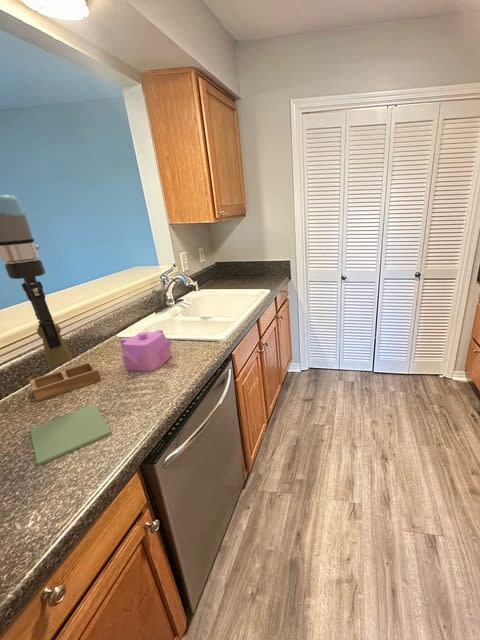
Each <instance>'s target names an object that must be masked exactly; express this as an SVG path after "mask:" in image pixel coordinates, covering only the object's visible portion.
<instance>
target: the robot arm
mask: <svg viewBox="0 0 480 640" xmlns="http://www.w3.org/2000/svg"><path fill="white" fill-rule="evenodd" d="M38 250H40V246H39V245H37V244H36V243H35V239H34V237H33V235H32V232H31V228H30V225H29V222H28V218H27V214H26V212H25V210H24V209H23V205H22V204H21V201H20V199H19V198H18V197H17V196H15V195H12V194H0V259H1V261H2V262H4V263H5V264H4V269H5V270H6V273H7V275H8V278H9V279H12V280H20V279H23V283H20V284H21V287H22V290H23V291H24V293H25V295H26V297H27V299H28V301H29V302H30V304H31V306H32V308H33V311H34V315H35V317H36V319H37V320H38V322H37V323H38V325H37V326H38V327H42V330H43V332H44V335H45V337H46V340H47V342H48V345H49V348H50V349H51V348H55V347H58V346H62V345H61V342H60V340H59V337H58V334H57V331H56V329H55V326H54V324H53V323H55V321H54V319H53V316H52V314H51V312H50V310H49V305H48V304H47V301H46V295H45V292H44V286H43V284H42V282H41V281H39V280H37V278H36V277H40V276H43V275H45V274H46V270H45V267H44V265H43V261H42V260H41V259H39V258H40V254H39V251H38Z"/></svg>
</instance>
